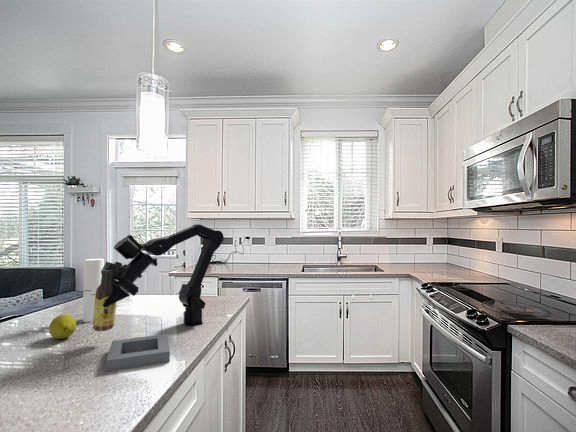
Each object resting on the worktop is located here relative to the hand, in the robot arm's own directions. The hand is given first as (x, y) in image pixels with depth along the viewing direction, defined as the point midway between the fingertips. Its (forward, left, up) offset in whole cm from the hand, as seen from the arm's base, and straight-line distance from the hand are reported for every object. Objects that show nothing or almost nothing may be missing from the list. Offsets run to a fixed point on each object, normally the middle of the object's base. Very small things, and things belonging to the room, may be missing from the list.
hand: (100, 304), depth 104 cm
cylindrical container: (+7, -35, -13) cm, 38 cm away
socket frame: (-12, +14, -13) cm, 23 cm away
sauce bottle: (-1, -2, -8) cm, 9 cm away
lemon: (+13, -13, -13) cm, 22 cm away
